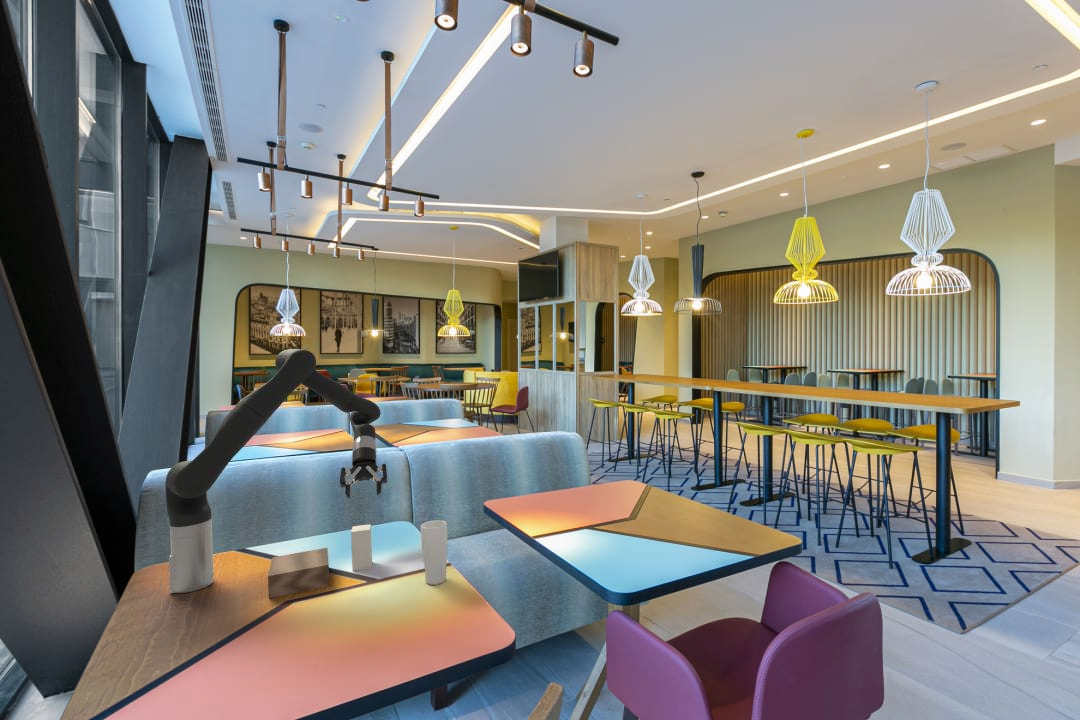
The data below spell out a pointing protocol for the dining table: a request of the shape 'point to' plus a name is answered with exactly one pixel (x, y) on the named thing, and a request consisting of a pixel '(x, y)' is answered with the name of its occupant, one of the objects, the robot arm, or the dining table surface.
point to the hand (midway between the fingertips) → (363, 495)
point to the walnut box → (298, 572)
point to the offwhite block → (361, 547)
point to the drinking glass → (434, 550)
